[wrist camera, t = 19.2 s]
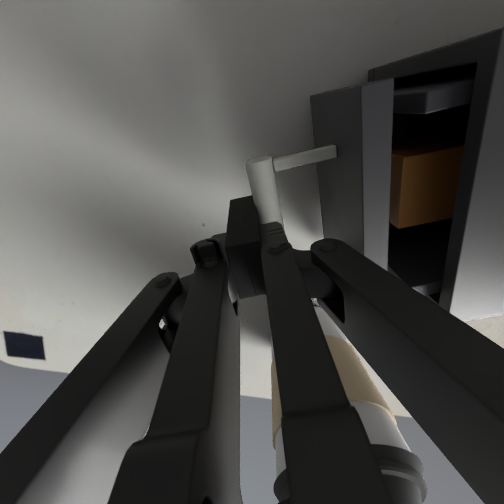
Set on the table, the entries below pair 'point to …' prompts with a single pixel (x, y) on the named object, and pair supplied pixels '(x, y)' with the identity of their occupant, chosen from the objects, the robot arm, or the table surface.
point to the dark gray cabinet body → (470, 174)
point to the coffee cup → (373, 418)
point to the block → (424, 179)
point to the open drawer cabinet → (373, 169)
